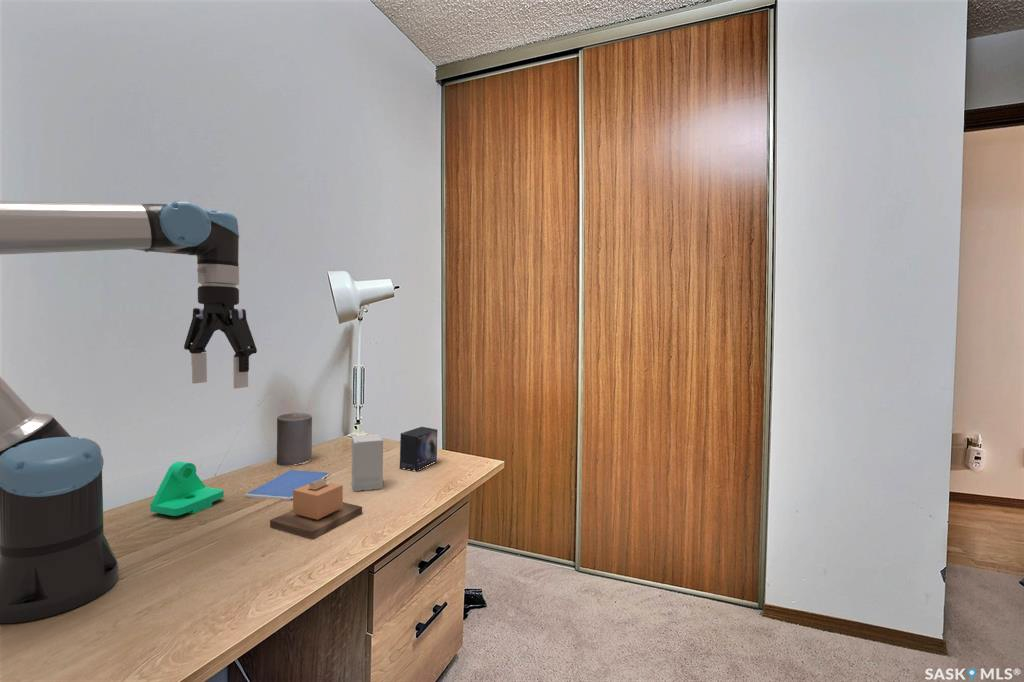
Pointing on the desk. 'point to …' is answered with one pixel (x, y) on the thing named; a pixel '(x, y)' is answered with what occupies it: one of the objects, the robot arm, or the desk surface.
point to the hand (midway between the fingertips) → (219, 385)
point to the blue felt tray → (285, 484)
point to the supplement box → (367, 462)
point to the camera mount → (183, 492)
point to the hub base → (313, 526)
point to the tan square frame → (317, 500)
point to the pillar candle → (294, 438)
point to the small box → (418, 448)
